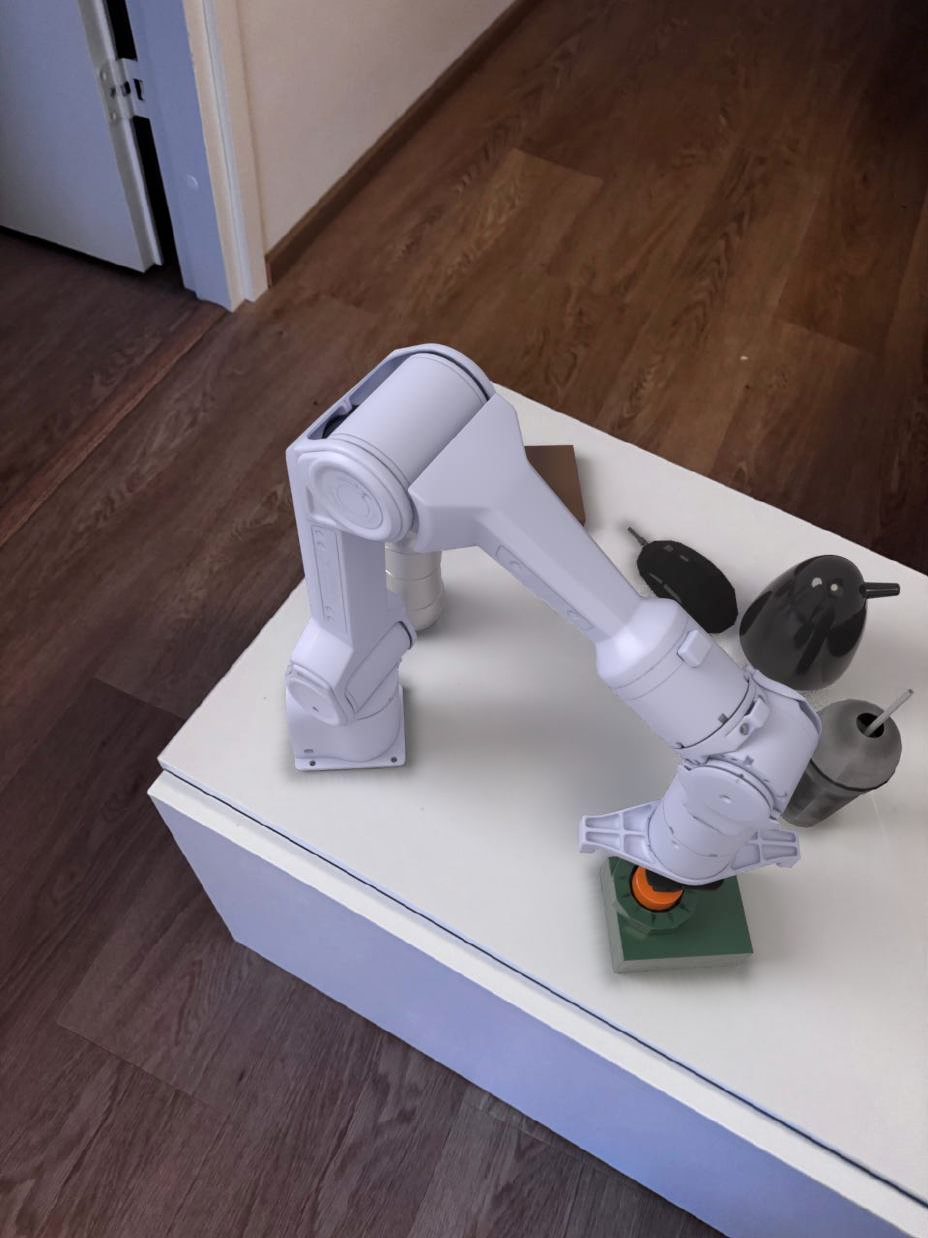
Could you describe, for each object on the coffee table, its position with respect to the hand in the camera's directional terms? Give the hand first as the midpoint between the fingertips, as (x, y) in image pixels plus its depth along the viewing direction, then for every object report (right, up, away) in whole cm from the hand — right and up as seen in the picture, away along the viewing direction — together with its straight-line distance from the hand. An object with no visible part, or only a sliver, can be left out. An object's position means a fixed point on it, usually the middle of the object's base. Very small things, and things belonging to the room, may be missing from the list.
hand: (661, 878), depth 72 cm
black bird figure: (+15, +15, +20) cm, 29 cm away
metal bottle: (-20, +20, +21) cm, 35 cm away
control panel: (-9, +31, +28) cm, 43 cm away
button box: (+2, -5, +6) cm, 8 cm away
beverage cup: (+14, +3, +12) cm, 19 cm away
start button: (0, -1, +2) cm, 2 cm away
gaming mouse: (+6, +23, +24) cm, 34 cm away
